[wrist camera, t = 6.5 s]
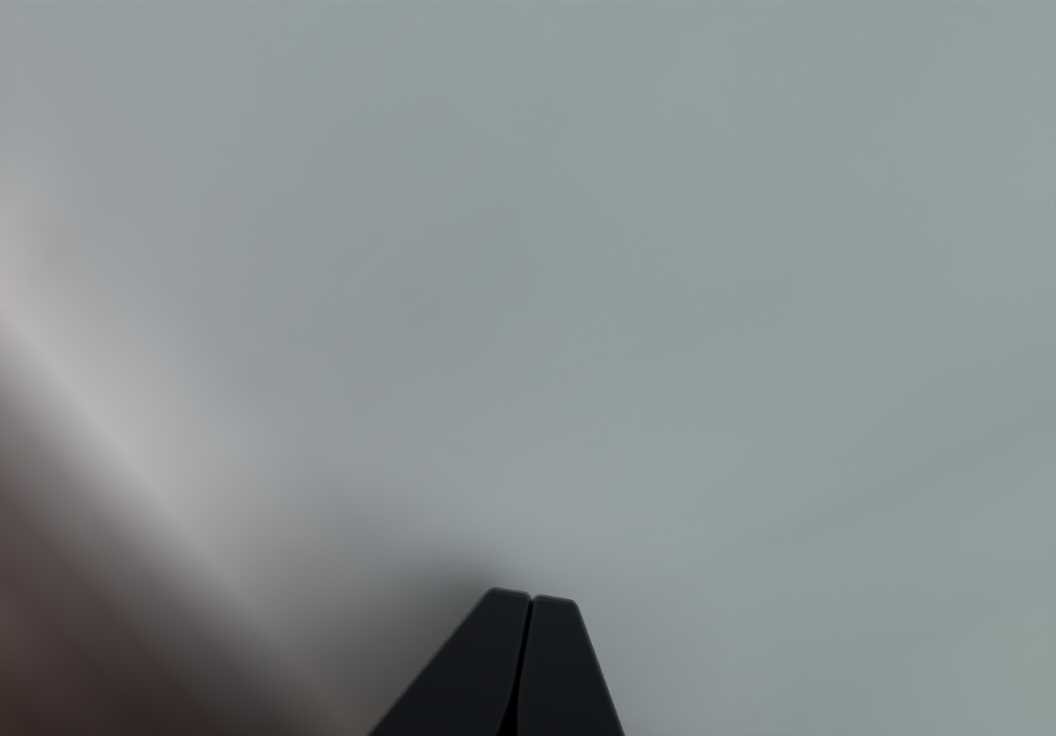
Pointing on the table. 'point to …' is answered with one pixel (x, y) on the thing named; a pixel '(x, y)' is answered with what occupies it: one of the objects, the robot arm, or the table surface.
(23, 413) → the table surface
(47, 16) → the table surface
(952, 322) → the table surface
